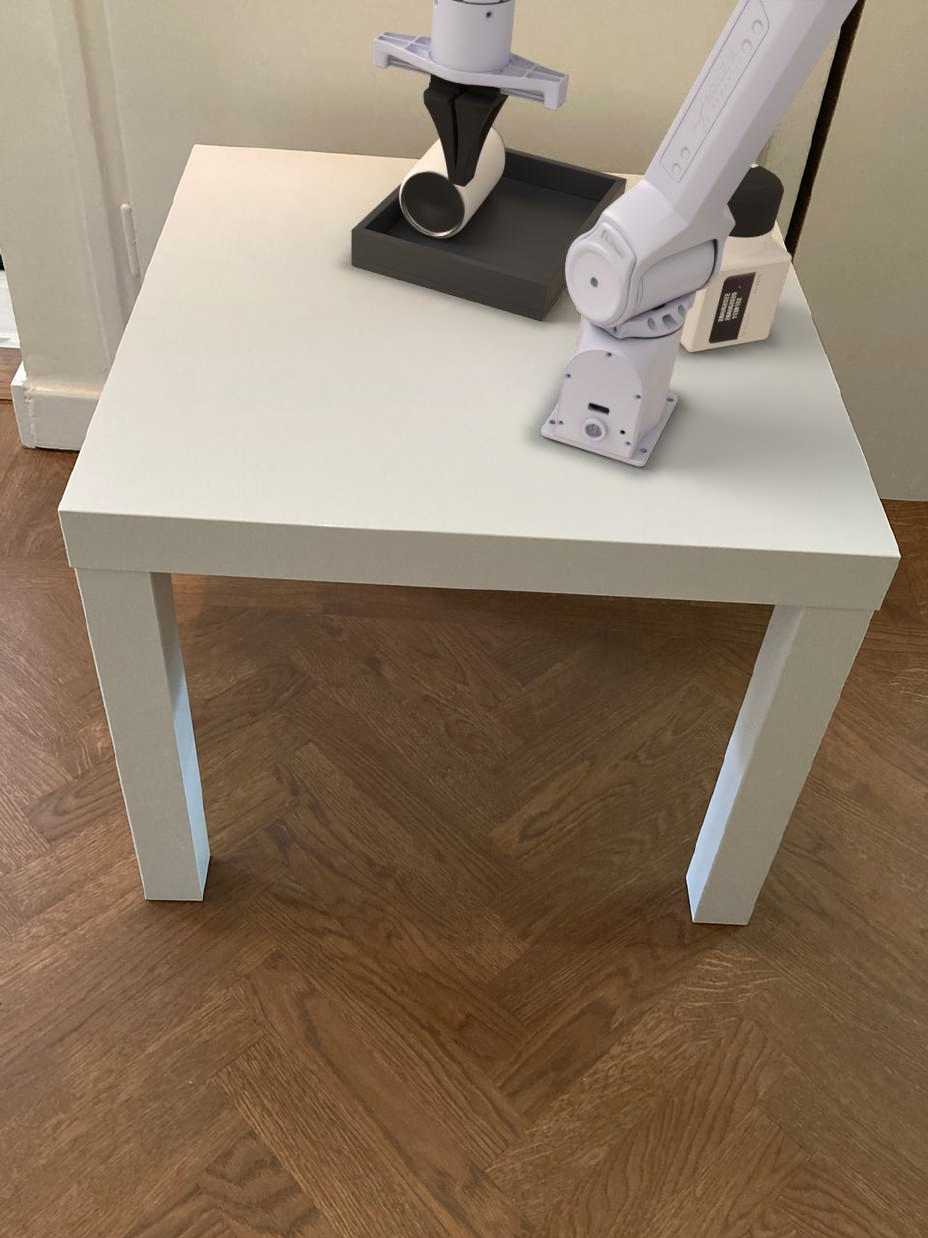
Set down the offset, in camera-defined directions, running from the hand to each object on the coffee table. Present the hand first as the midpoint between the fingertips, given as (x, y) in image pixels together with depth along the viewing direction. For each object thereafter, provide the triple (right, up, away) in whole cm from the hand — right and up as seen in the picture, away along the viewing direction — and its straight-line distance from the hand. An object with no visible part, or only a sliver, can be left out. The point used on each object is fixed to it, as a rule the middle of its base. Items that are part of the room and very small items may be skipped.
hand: (461, 179), depth 89 cm
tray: (+3, 0, +15) cm, 15 cm away
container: (+21, -9, +8) cm, 24 cm away
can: (-3, +1, +10) cm, 10 cm away
